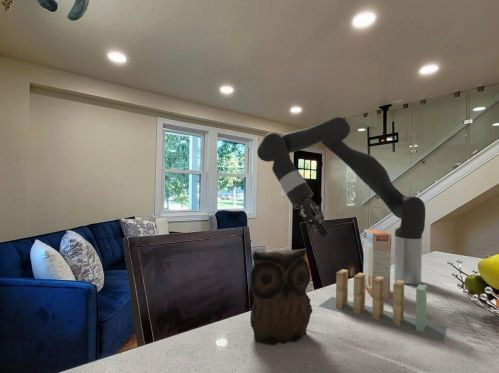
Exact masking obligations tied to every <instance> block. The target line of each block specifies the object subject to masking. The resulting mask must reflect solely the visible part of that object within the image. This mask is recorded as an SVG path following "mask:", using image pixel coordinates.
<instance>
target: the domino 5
mask: <svg viewBox="0 0 499 373" xmlns="http://www.w3.org/2000/svg"><path fill="white" fill-rule="evenodd" d="M427 288H428V285H427V284H426V285H425V284H422V283H421V284H419V285H417V287H416V289H415V292H416V293H415V319H416V330H417V331H421V332H424V330H425V327H426V322H427V300H428V298H427V293H428V292H427Z"/></svg>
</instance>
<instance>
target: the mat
mask: <svg viewBox="0 0 499 373" xmlns="http://www.w3.org/2000/svg"><path fill="white" fill-rule="evenodd" d="M353 302H354V301H350V300H348V302H347V305H345V306H344V307H343V308H342V309H340V308H336V296H331V297H329V298H328V299H327V300H325V301H323V302H322V303H320V305H319V304H318V307H321V308H324V309H327V310H331V311H334V312H338V313H341V314H344V315H348V316H350V317H354V318H358V319H360V320H364V321H368V322H370V323H375V324H378V325H381V326H385V327H388V328H392V329H395V330H399V331H401V332H406V333H408V334H412V335H415V336H418V337H422V338H425V339H429V340H432V341H436V342H439V343H444V342H445V337H446V334H447V328H448V327H447V326H444V325H442V324H438V323H437V324H436V323H434V322H430V321H426V327H425V330H424V332H421V331H417V330H416V317H410V316H406V315H404V320H403V321H402V323H401V325H400V326H399V325H396V324H393V311H392V312H391V311H388V310H384V314H383V315H382V316H381V317H380V319H379V320H378V319H375V318H372V306H370V305H369V306H368V305H365V309H364V310H363V311H362V312H361V313H360V314H357V313H354V312H353Z"/></svg>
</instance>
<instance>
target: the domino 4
mask: <svg viewBox="0 0 499 373" xmlns="http://www.w3.org/2000/svg"><path fill="white" fill-rule="evenodd" d="M392 286H393V288H392V289H393V290H392V294H393V295H392V313H393V324H396V325H399V326H400V325H401V323H402V321H403V320H404V316H405V283H404V281H401V280H397V281H396V280H395V282H394V283H393V285H392Z"/></svg>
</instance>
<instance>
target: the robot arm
mask: <svg viewBox="0 0 499 373" xmlns="http://www.w3.org/2000/svg"><path fill="white" fill-rule="evenodd" d="M350 133H351V126H350V124H349V122H348V121H347V120H346V119H345V118H343V117H341V116H335V117H333V118H331V119H329V120H328V119H327V121H324V122H322V123H319V124H317V125H314V126H310V127H307V128H303V129H300V130H294V131H290V132H286V133H284V134H283V135H280V134H278V133H276V132H268V133H266V134H265V136H264V137H263V139H262V141H261V143H260V144H259V145H258V147H257V152H256V153H257V156H258V158H259V159H260V160H261V161H263V162H267V163H269V162H273V163H272V167H271V168H272V170H271V171H272V172H273V174H274V176H275V177H276V179H277V181H278V182H279V184H280V186H281V188H282V190H283V192H284V193H285V195H286V197H287V198H288V200H289V202H290V203H291V205H292V206H293V207H298V209H299V210H300V212H299V213H298V216H299V217H300V218H301V219H303V221H305V222H306V223H307V224H308V225H309V226H310V227H314V228H316V230H317V233H319V235H320V236H321V238H325V237H326V236H328V235H329V234H330V232H329V230H328V228H327V227H326V225H325V224H324V220H325V217H324V213H323V211H322V208H321V206H320V205H316V203H315V202H314V201H313V200H312V197H313V196H314V192H313V190H312V189H311V188H310V186H309V184H308V183H307V181H306V180H305V177H304V176H303V175H302V174H301V173H300V172H299V170H298V169H297V167H296V165H295V164H294V163H293V161H292V159H291V155H290V153H291V154H292V153H295V152H300V151H303V150H304V149H307V148H310V147H312V146H315V144H317V143H320V142H321V143H322V144H323V146H325V148H326V149H328V150H329V151H330V152H332V153H333V154H334V155H335V156H336V157H338V158H339V159H340V160H341V161H342V162H343V163H344V164H345V165H346V166H347V167H349V169H351V170H352V172H353V173H355V175H356V176H357V177H358V178H359V179H360V180H361V181H362V182H363V183H364V184H365V185H367V187H368V188H369V189H370V190H371V191H373V193H375V194H376V195H377V196H378V197H379V198H380V199H381V200H382V201H383V203H384V204H385V205H386V206H387V209H389V211H390V212H391V213H392V214H393V215H394V216H395V217H397V218H399V219H400V225H399V226H398V227H397V228H396V229H395V230H394V272H393V273H394V275H393V276H394V281H395V282H396V281H397V280H401V281H404V285H405V284H406V285H412V286H413V285H415V286H416V285H417V286H418V285H419V284H422V268H423V267H422V263H423V262H422V255H423V252H422V250H423V246H422V245H423V244H422V243H423V242H422V240H423V237H422V236H423V233H424V231H425V227H426V226H425V225H426V224H425V223H426V205H425V202H424V201H423V200H422V199H421V198H419V197H418V196H407V195H404V194H403V193H402V192H400V191H399V190H398V189H397V188H396V186H394V185H393V183H392V182H391V178H390V176H389V174H388V171H387V170H386V168H385V167H384V165H382V164H381V162H379V161H378V159H376V158H375V157H374V156H372V155H370V154H368V153H364V152H362V151H360V150H356V149H354V148H352V147H349V146H348V145H347V144H346V143H345V142H344V140H345V139H346V138H348V136H349V135H350Z"/></svg>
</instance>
